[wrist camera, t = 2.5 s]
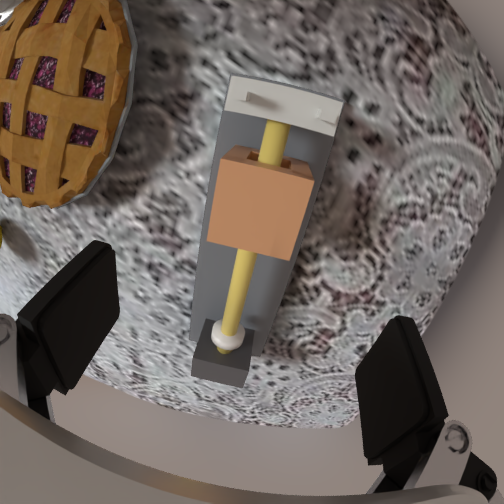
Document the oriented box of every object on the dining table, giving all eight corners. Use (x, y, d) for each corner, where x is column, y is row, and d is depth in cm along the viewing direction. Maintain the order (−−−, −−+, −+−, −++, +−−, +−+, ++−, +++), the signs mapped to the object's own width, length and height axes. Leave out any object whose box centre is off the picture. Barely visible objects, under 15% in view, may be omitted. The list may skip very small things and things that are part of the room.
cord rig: (232, 73, 17) (208, 61, 11) (342, 100, 17) (370, 100, 11) (190, 334, 30) (173, 384, 24) (260, 351, 31) (254, 403, 25)
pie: (-5, 176, 23) (-32, 191, 19) (20, 4, 12) (-11, 2, 8) (130, 221, 24) (102, 248, 20) (190, -19, 13) (167, -43, 9)
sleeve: (235, 144, 19) (220, 158, 14) (307, 161, 19) (314, 181, 14) (223, 209, 21) (206, 241, 17) (288, 225, 21) (289, 260, 17)
